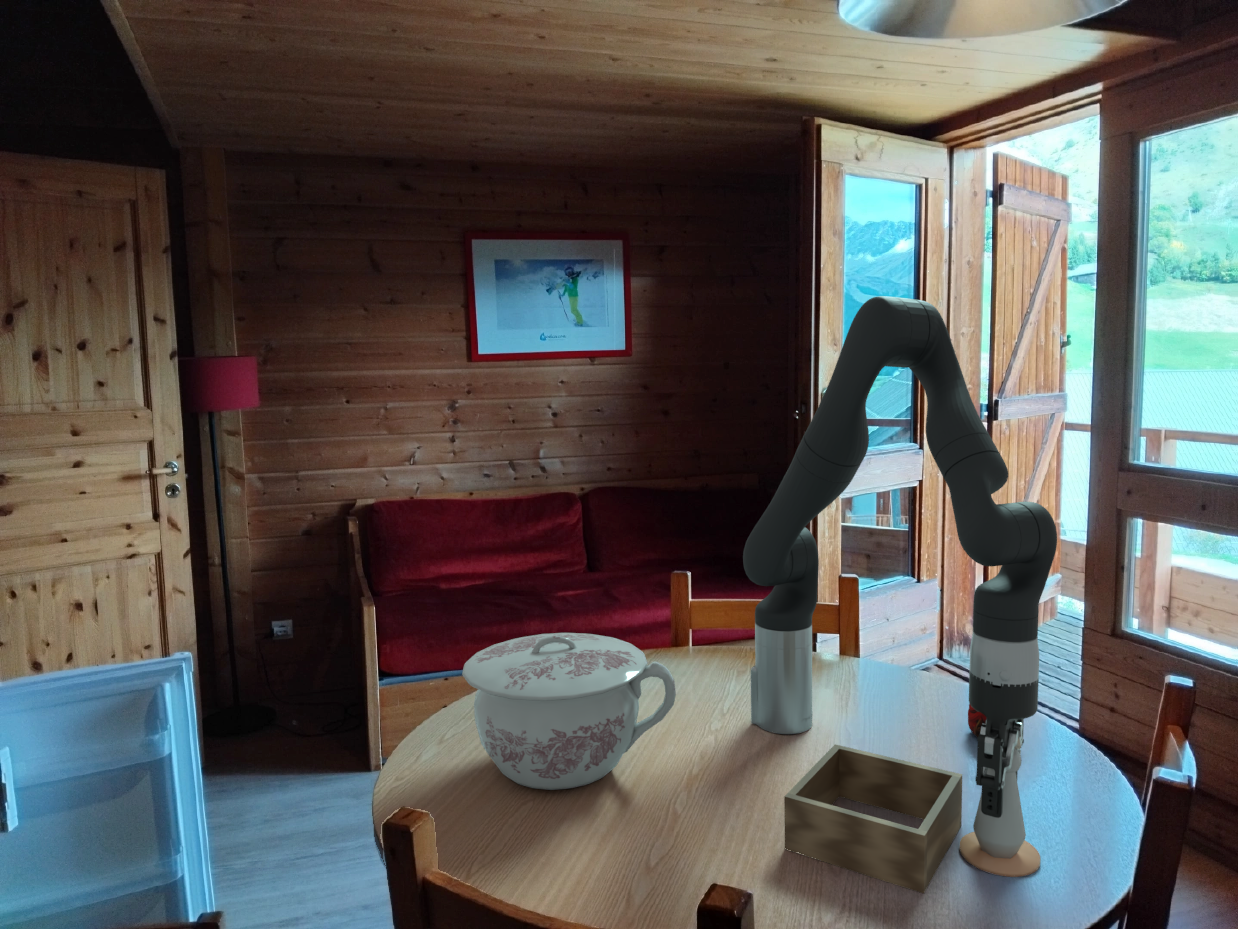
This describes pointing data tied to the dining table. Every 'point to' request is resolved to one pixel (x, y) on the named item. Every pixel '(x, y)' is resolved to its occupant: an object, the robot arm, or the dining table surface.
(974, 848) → the tan round coaster
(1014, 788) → the salt shaker
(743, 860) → the dining table surface
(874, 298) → the robot arm
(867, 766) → the walnut box
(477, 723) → the chamber pot
